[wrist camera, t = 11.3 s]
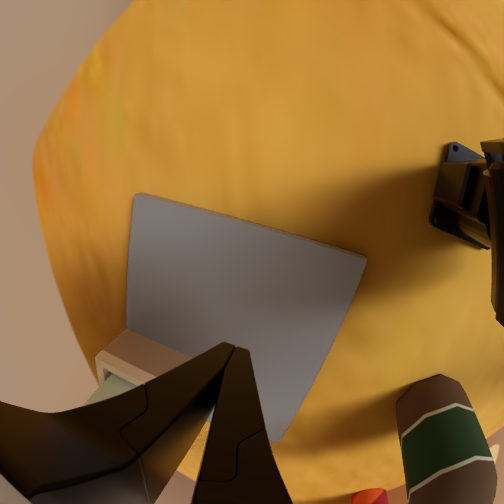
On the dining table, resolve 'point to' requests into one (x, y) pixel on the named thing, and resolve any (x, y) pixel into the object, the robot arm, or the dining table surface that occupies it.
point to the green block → (110, 389)
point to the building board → (230, 301)
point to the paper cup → (370, 497)
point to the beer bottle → (443, 446)
